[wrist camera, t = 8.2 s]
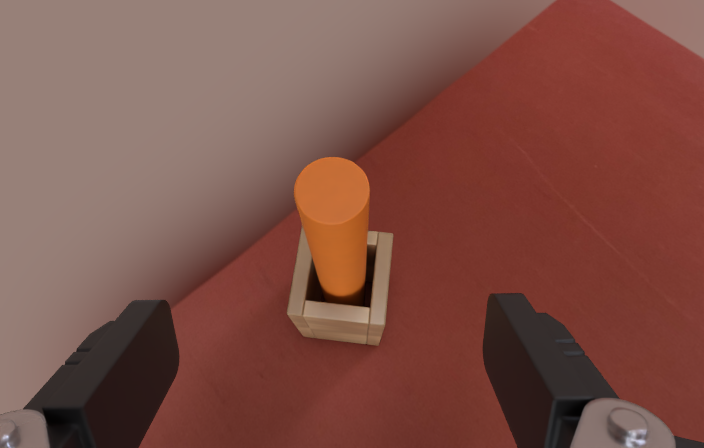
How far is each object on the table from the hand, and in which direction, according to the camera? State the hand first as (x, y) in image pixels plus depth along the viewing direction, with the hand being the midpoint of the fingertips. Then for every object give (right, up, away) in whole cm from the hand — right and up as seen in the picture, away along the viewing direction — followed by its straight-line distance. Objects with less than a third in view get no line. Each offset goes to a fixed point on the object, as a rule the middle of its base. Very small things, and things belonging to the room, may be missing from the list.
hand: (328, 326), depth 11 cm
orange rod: (0, -3, +17) cm, 18 cm away
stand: (0, -3, +17) cm, 18 cm away
